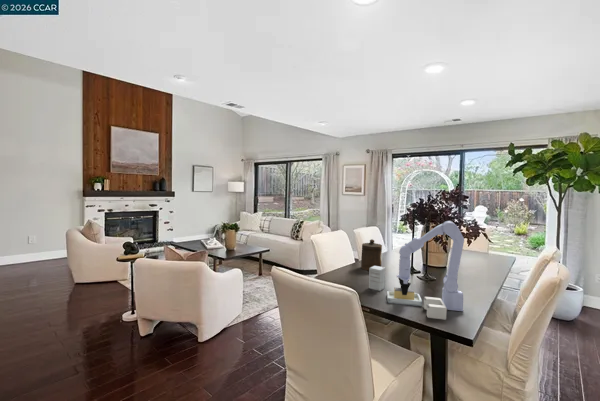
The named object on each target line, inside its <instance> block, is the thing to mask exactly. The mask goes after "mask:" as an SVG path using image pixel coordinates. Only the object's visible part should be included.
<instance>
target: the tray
mask: <svg viewBox="0 0 600 401" xmlns="http://www.w3.org/2000/svg"><path fill="white" fill-rule="evenodd" d="M386 298H387V304H395V305H396V304H398V305H405V306H416V307H423V299H422V298H421V296H420V293H417V292H414V300H408V299H398V298H394V290H386Z"/></svg>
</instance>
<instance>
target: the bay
mask: <svg viewBox="0 0 600 401" xmlns="http://www.w3.org/2000/svg"><path fill="white" fill-rule="evenodd" d="M422 307H423V309H424V310H426V316H427V318H429V319H434V320H436V319H437V320H444V321H446V320H447V311H448V310H447V308H446V306H445V305H444V303H443V301H442V297H432V296H423V303H422Z"/></svg>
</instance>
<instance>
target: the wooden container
mask: <svg viewBox="0 0 600 401" xmlns="http://www.w3.org/2000/svg"><path fill="white" fill-rule="evenodd" d="M382 250H383V244H380V243H376V242H375V240H374V239H373V238H372V239H370V240H369V242H364V243H362V244H361V256H360V257H361V260H360V268H361V269H362V270H364V271H369V268H370V267H373V266H379V267H382V253H383V252H382Z"/></svg>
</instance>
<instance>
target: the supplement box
mask: <svg viewBox="0 0 600 401" xmlns="http://www.w3.org/2000/svg"><path fill="white" fill-rule="evenodd" d="M368 273H369V274H368V275H369V276H368V288H369V289H370V290H375V291H379V292H380V291H382V290H383V289H385V288H386V267H385V266H381V267H379V266H373V267H370V268H369V272H368Z"/></svg>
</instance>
